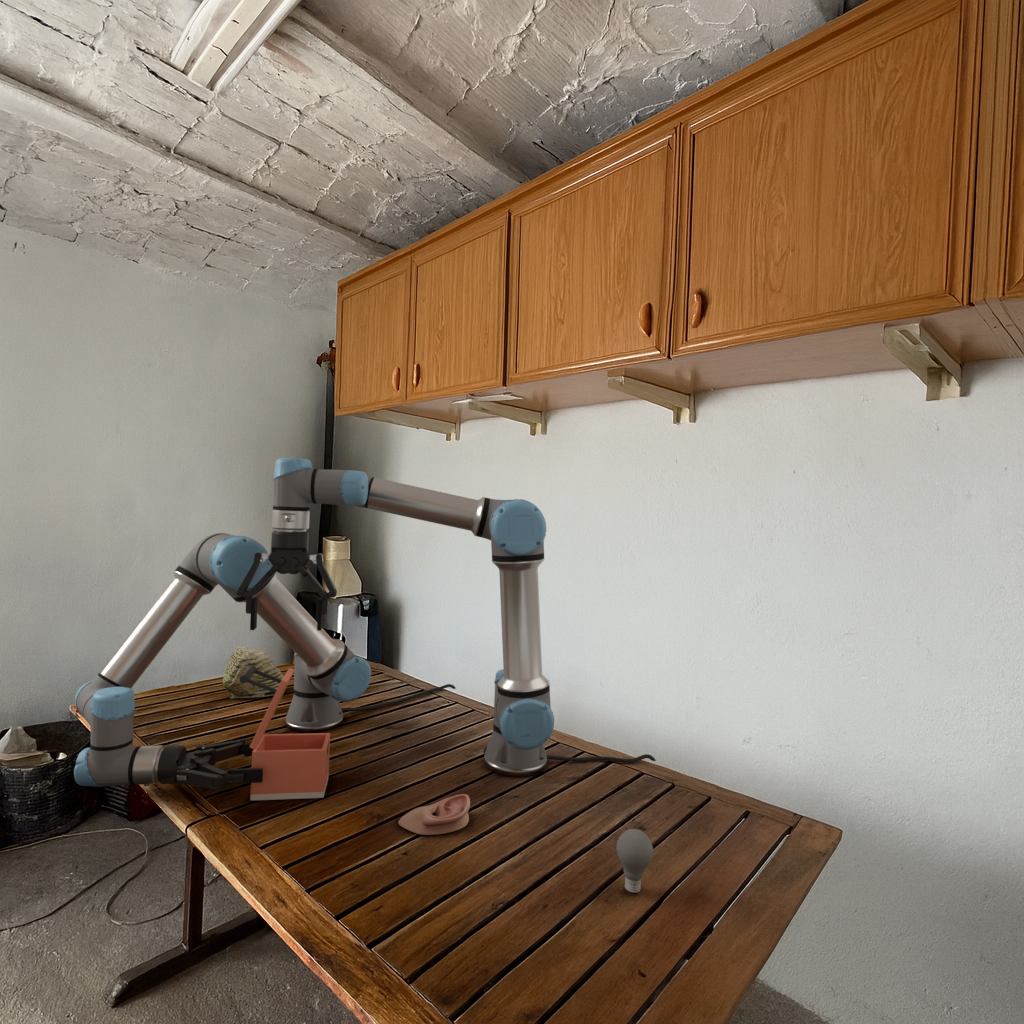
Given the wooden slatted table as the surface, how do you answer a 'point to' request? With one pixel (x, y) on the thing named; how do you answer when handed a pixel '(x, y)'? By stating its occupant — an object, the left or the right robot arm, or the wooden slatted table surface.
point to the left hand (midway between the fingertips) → (269, 761)
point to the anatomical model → (438, 816)
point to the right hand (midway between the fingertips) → (286, 629)
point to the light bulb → (634, 857)
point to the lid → (275, 700)
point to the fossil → (241, 663)
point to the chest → (291, 766)
